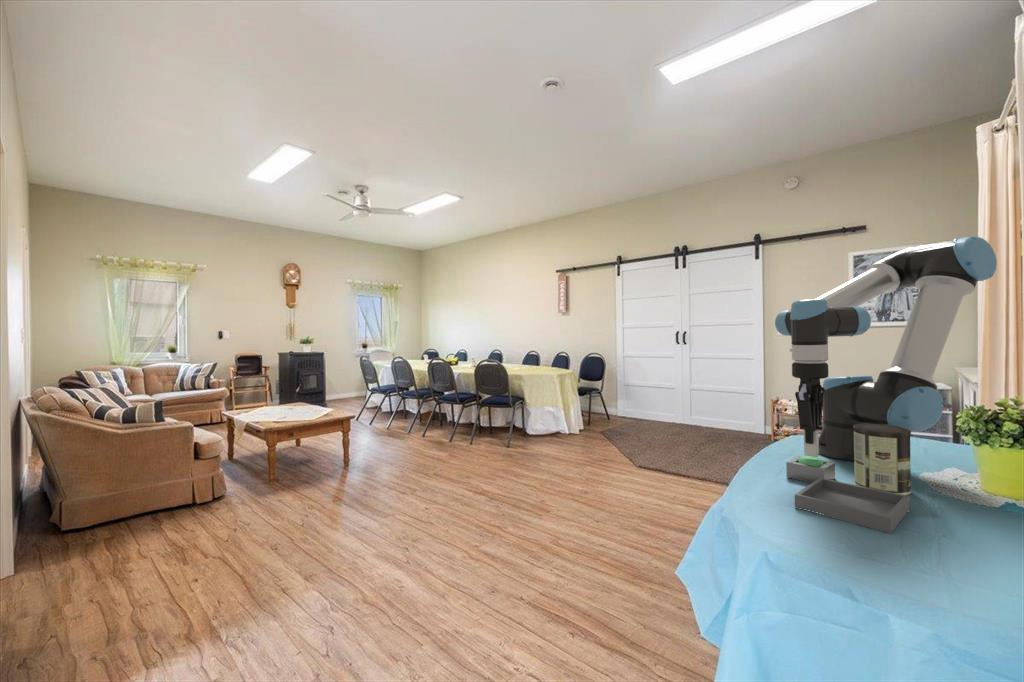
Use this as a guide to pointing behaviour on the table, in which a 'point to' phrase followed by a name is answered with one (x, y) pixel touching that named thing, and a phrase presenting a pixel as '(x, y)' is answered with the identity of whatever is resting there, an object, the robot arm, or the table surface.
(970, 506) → the table surface
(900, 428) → the coffee can
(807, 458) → the button
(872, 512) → the shallow gray tray
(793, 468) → the button housing
